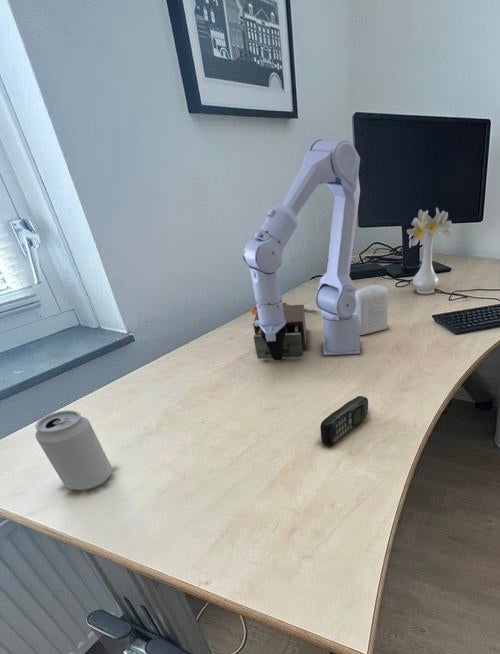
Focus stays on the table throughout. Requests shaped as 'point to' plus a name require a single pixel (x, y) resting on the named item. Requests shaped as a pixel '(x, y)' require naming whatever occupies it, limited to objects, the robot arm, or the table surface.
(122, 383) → the table surface
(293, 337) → the drawer
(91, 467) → the can
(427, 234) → the flower vase
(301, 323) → the cabinet
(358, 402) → the mobile phone
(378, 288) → the white rounded slab
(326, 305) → the robot arm
